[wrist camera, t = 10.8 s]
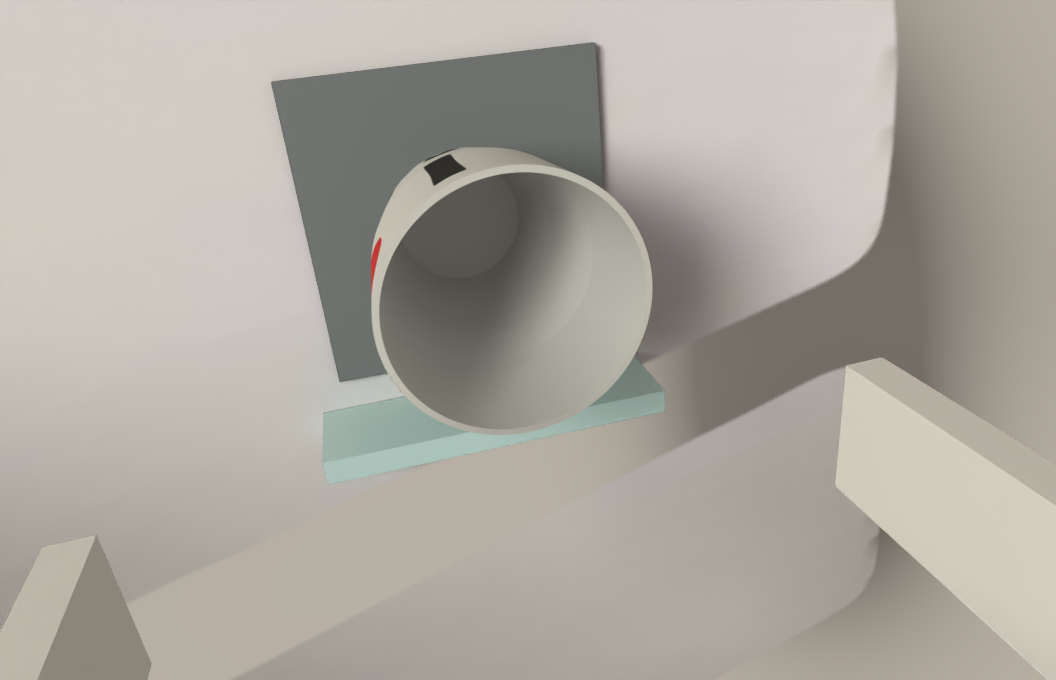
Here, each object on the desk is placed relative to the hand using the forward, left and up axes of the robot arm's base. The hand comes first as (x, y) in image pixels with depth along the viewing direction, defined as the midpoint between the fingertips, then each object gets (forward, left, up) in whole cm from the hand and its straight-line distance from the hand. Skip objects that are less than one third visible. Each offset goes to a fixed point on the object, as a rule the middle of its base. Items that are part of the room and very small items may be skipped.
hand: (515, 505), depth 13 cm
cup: (+2, 0, -19) cm, 19 cm away
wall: (+2, -8, -19) cm, 21 cm away
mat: (+2, 0, -19) cm, 19 cm away
